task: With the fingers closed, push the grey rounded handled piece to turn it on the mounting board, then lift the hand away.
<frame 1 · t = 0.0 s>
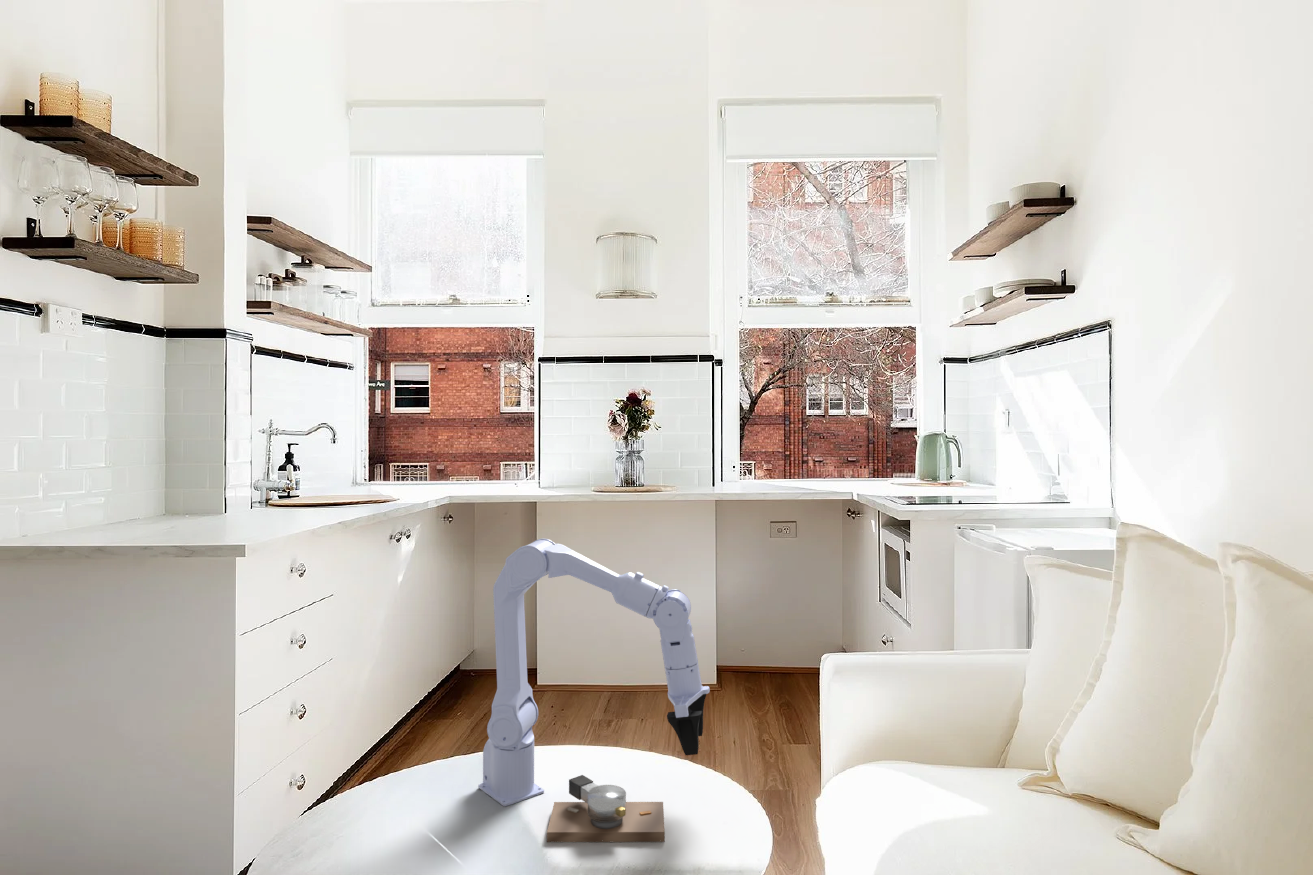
hand: (694, 744, 128), 10 cm above the table, tool pointing down, fingers open, 7 cm apart
mounting board: (606, 830, 120), on the table
grey rounded handled piece: (598, 797, 122), point 4 cm above the table, hinge at 0.0°
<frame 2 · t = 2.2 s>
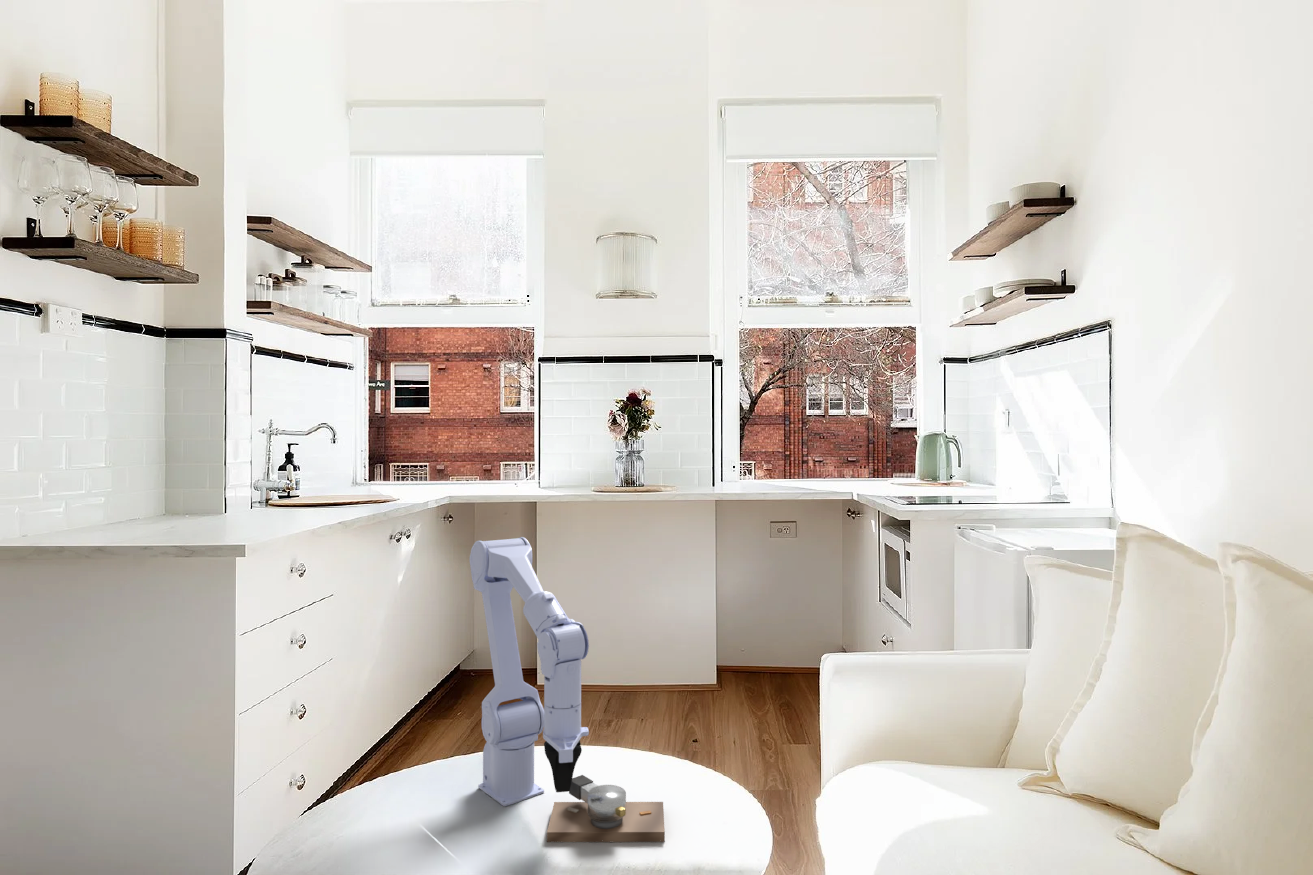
hand: (562, 789, 119), 7 cm above the table, tool pointing down, fingers closed
nothing on the table moved.
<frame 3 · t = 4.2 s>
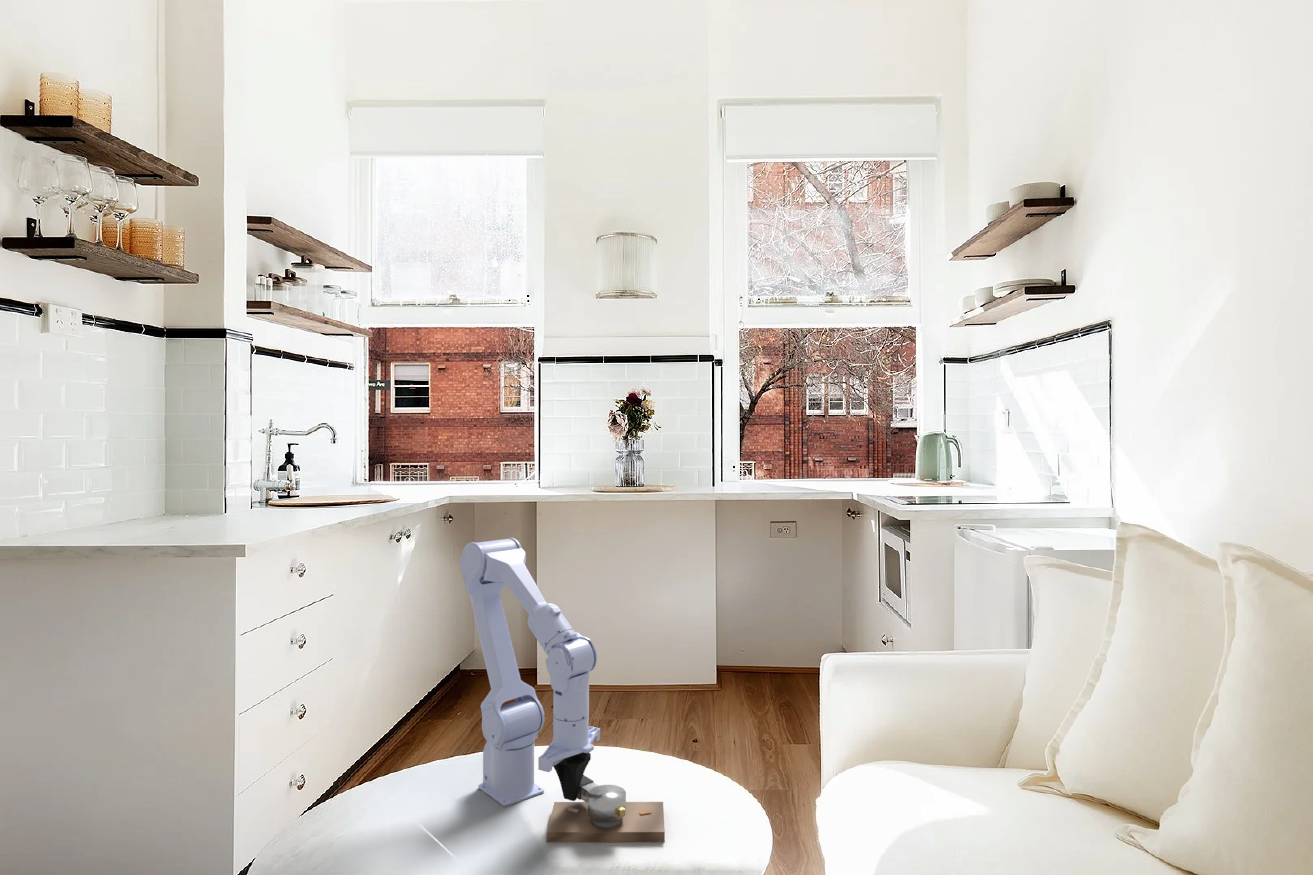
hand: (570, 798, 124), 3 cm above the table, tool pointing down, fingers closed
grey rounded handled piece: (598, 797, 122), point 4 cm above the table, hinge at 0.8°, touching gripper
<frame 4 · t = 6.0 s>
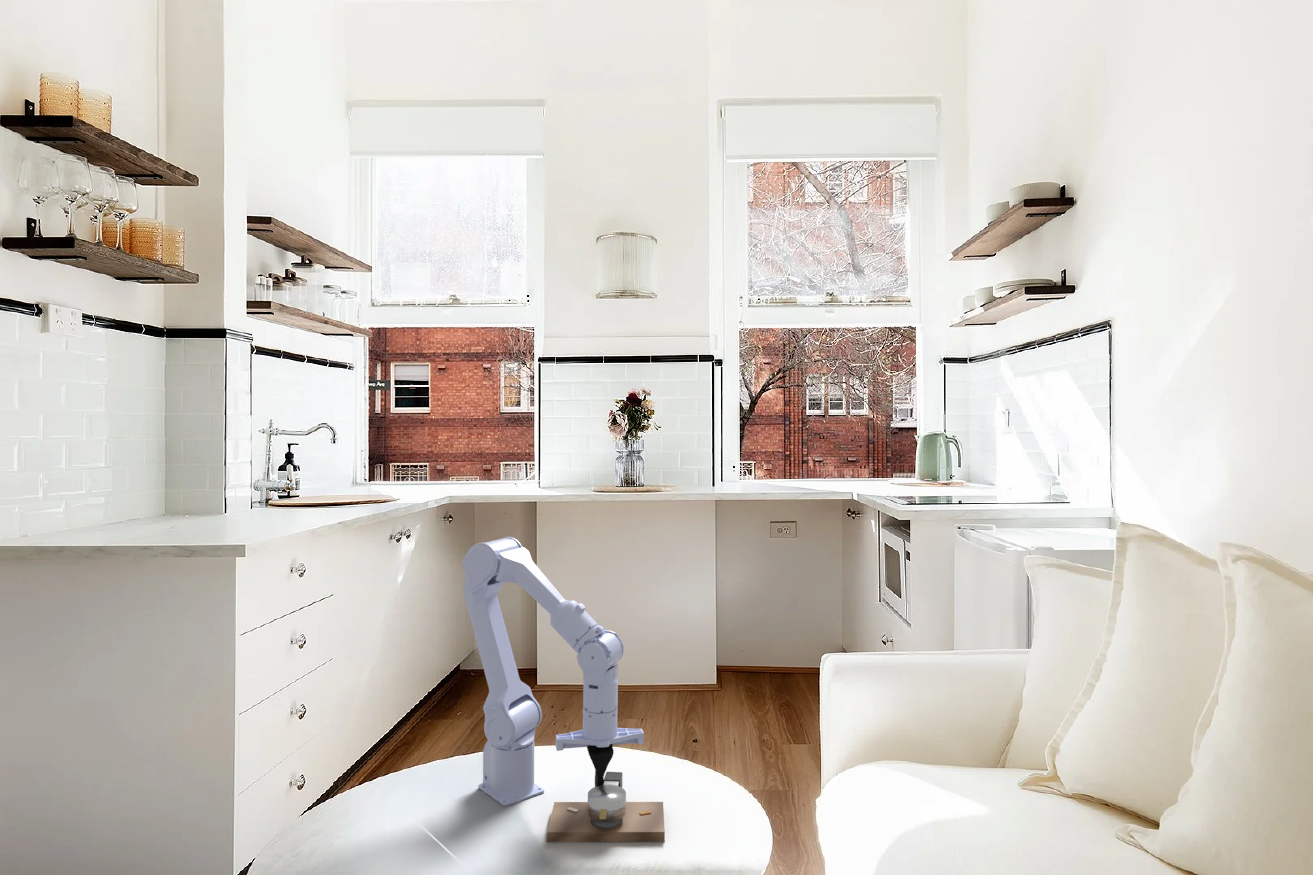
hand: (599, 788, 127), 3 cm above the table, tool pointing down, fingers closed, pressing on grey rounded handled piece
grey rounded handled piece: (608, 796, 123), point 4 cm above the table, hinge at 46.1°, touching gripper
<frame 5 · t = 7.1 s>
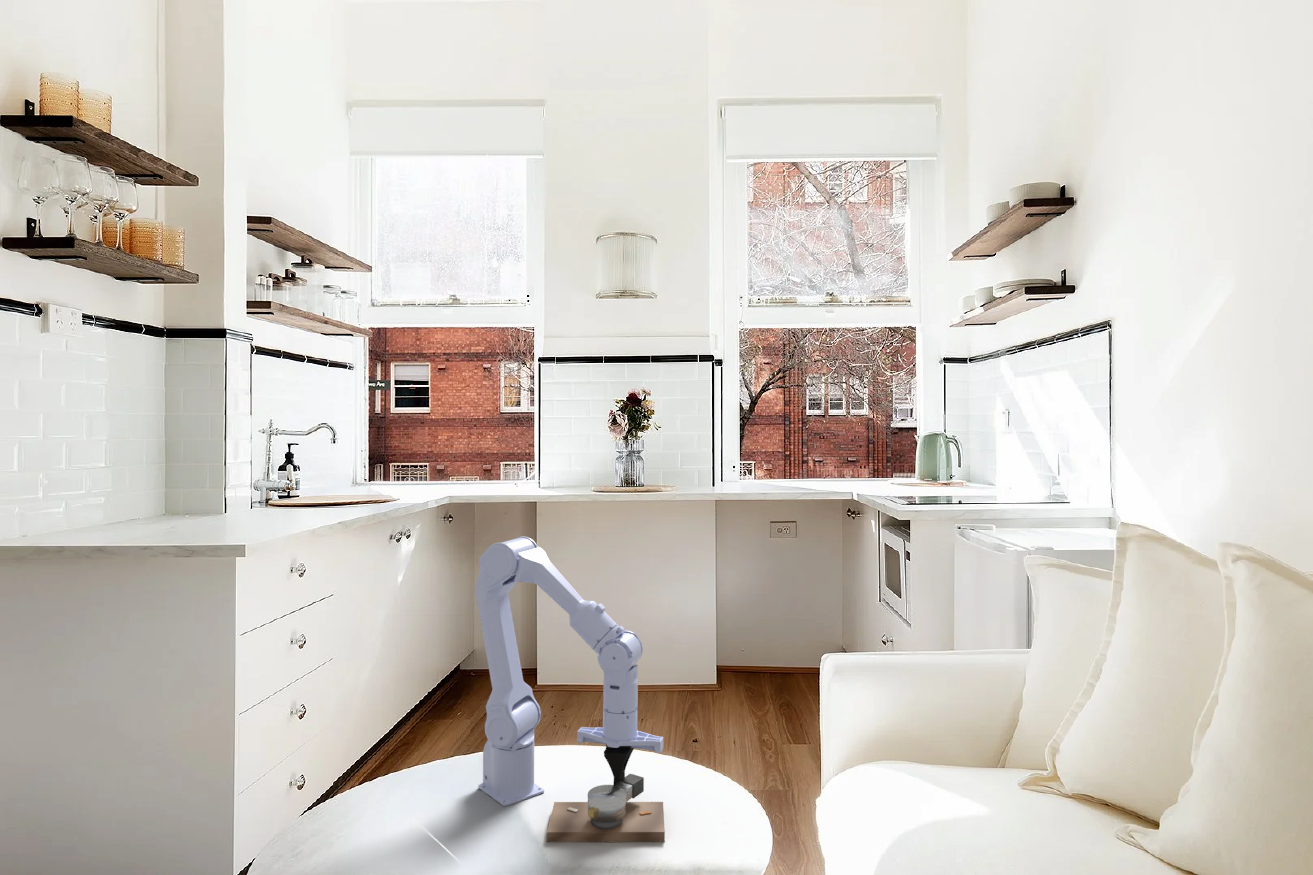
hand: (619, 788, 127), 3 cm above the table, tool pointing down, fingers closed, pressing on grey rounded handled piece
grey rounded handled piece: (614, 797, 122), point 4 cm above the table, hinge at 73.5°, touching gripper
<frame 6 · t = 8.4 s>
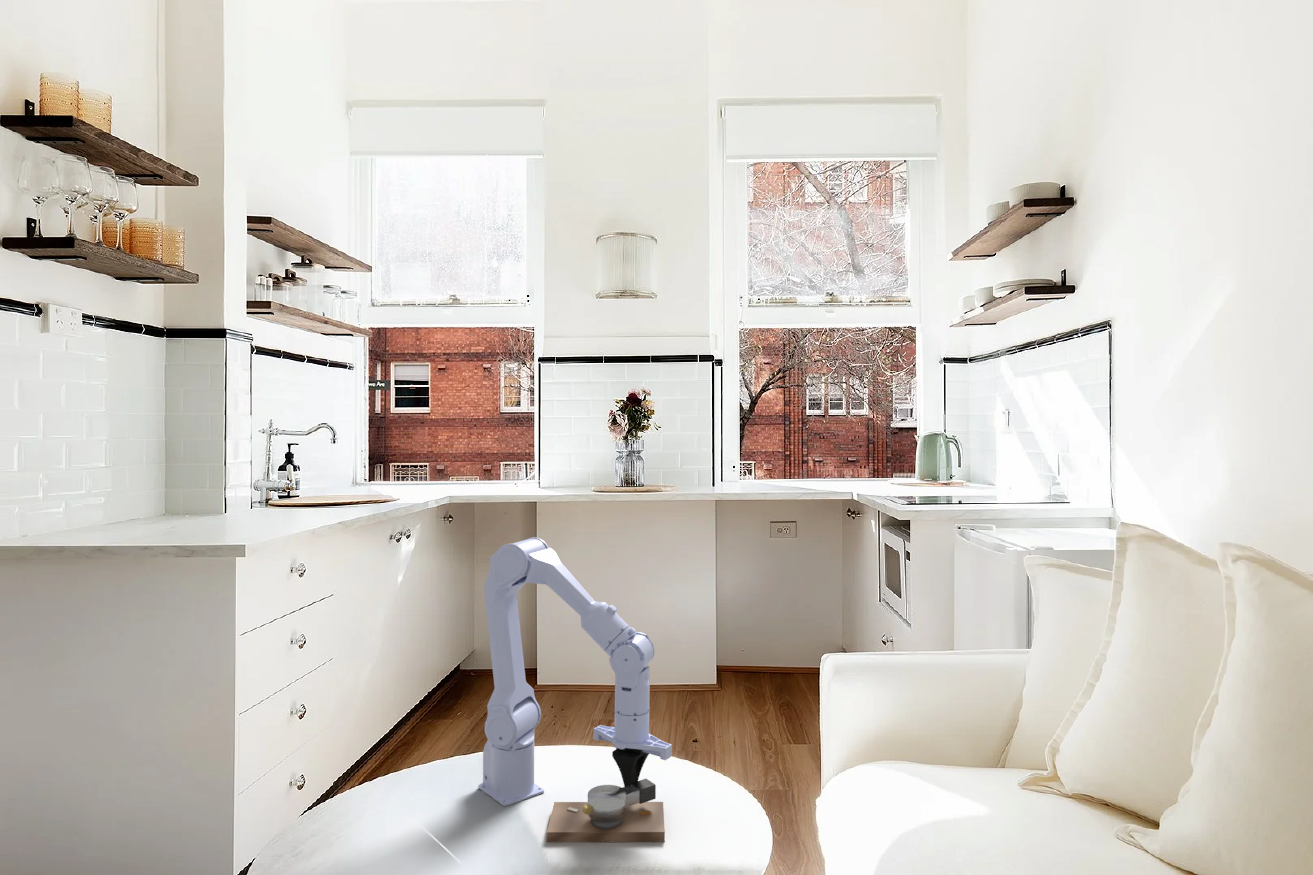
hand: (631, 791, 126), 3 cm above the table, tool pointing down, fingers closed
grey rounded handled piece: (618, 798, 122), point 4 cm above the table, hinge at 95.1°, touching gripper
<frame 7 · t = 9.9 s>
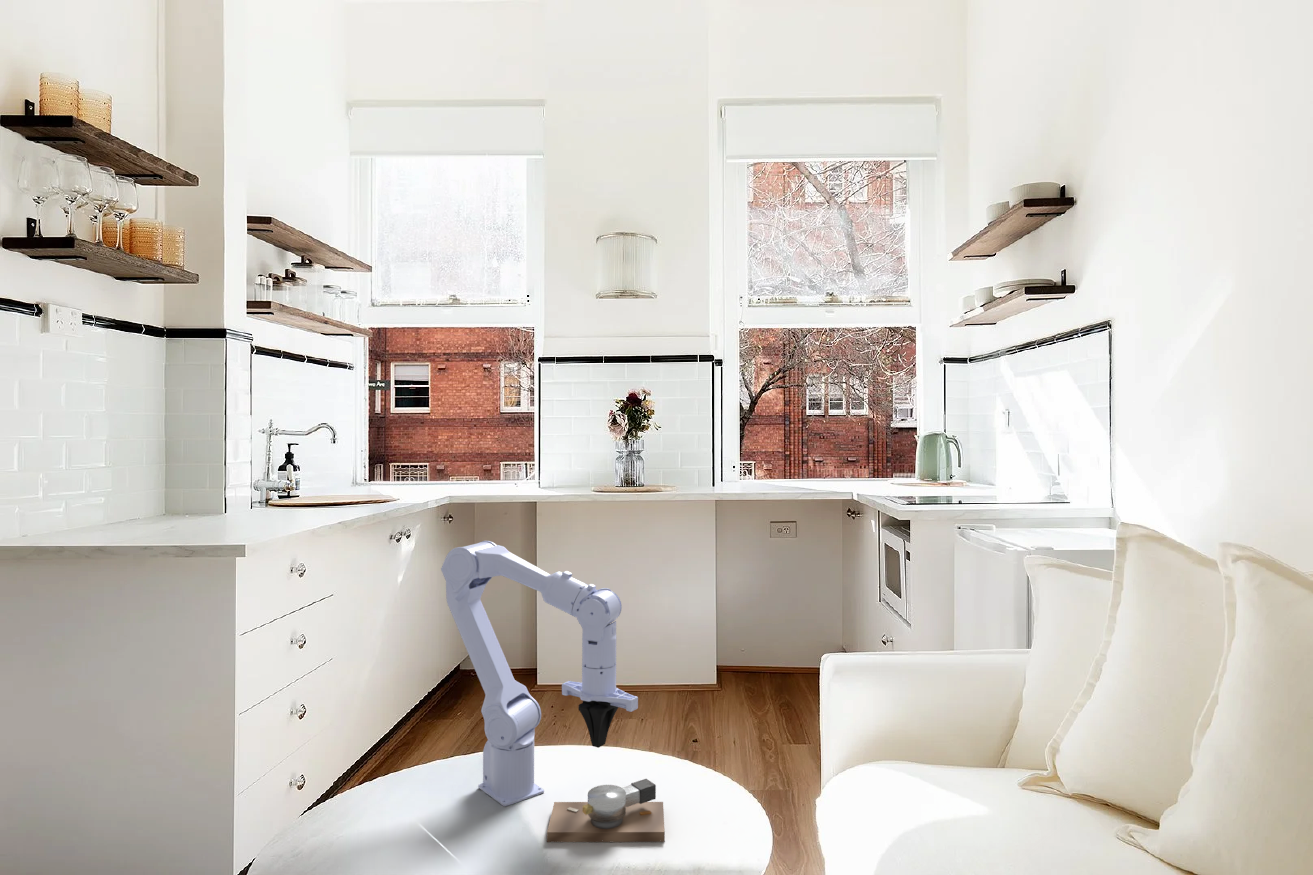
hand: (598, 744, 128), 10 cm above the table, tool pointing down, fingers closed
grey rounded handled piece: (618, 799, 122), point 4 cm above the table, hinge at 95.4°
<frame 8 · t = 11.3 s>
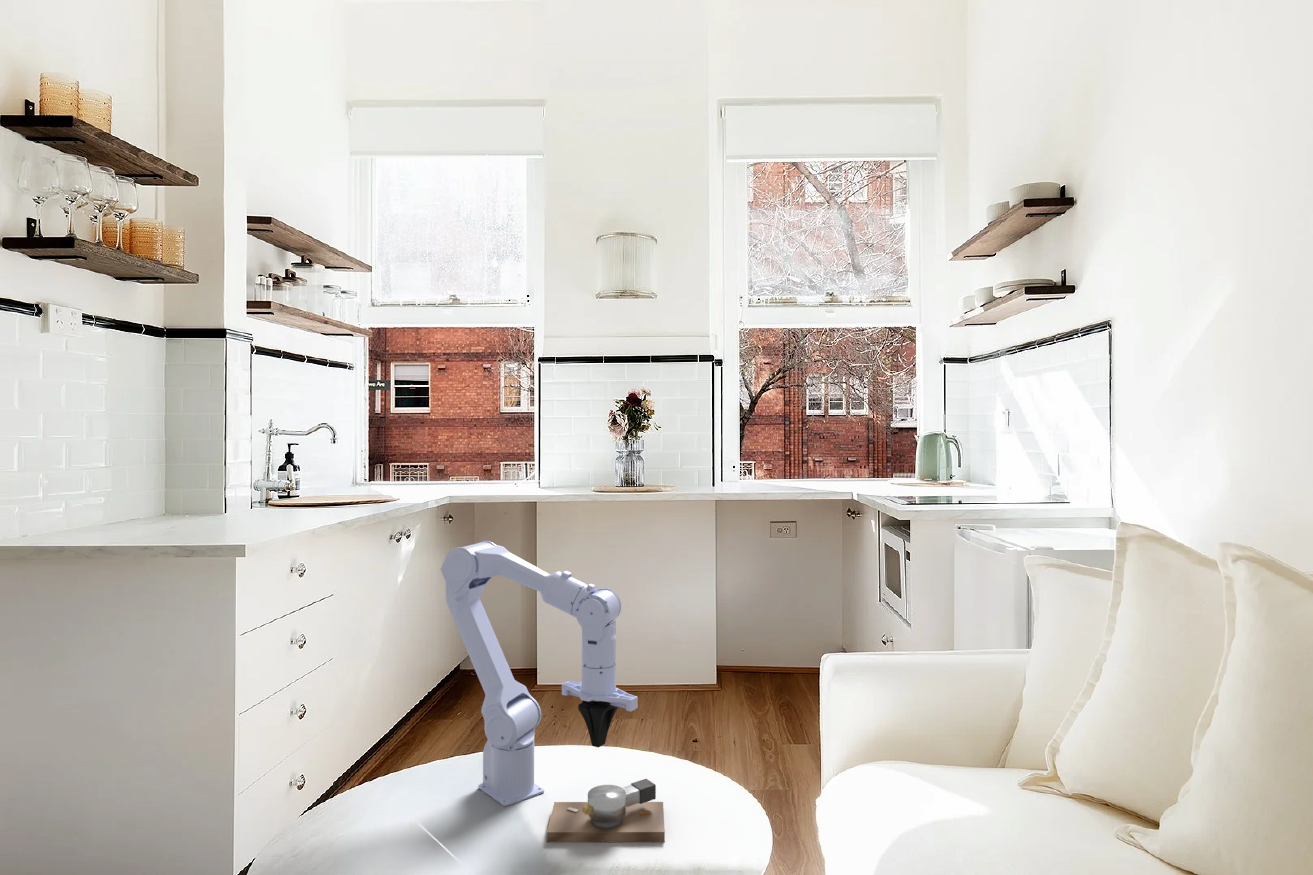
hand: (598, 744, 128), 10 cm above the table, tool pointing down, fingers closed
nothing on the table moved.
at the end: grey rounded handled piece at +95° (first picture: +0°); the gripper is holding nothing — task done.
